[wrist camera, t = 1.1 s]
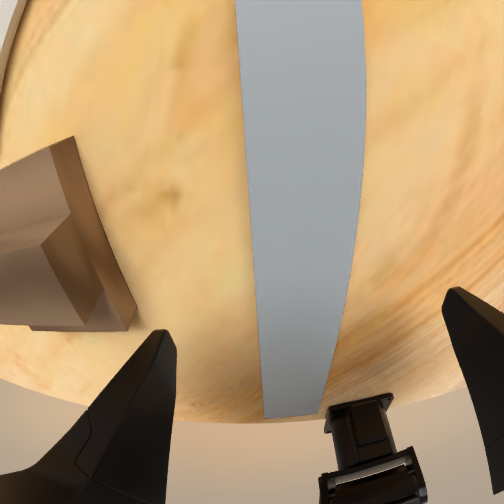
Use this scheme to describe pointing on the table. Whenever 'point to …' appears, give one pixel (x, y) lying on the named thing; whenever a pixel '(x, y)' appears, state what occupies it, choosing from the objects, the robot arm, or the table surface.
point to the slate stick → (301, 183)
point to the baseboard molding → (8, 30)
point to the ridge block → (57, 249)
